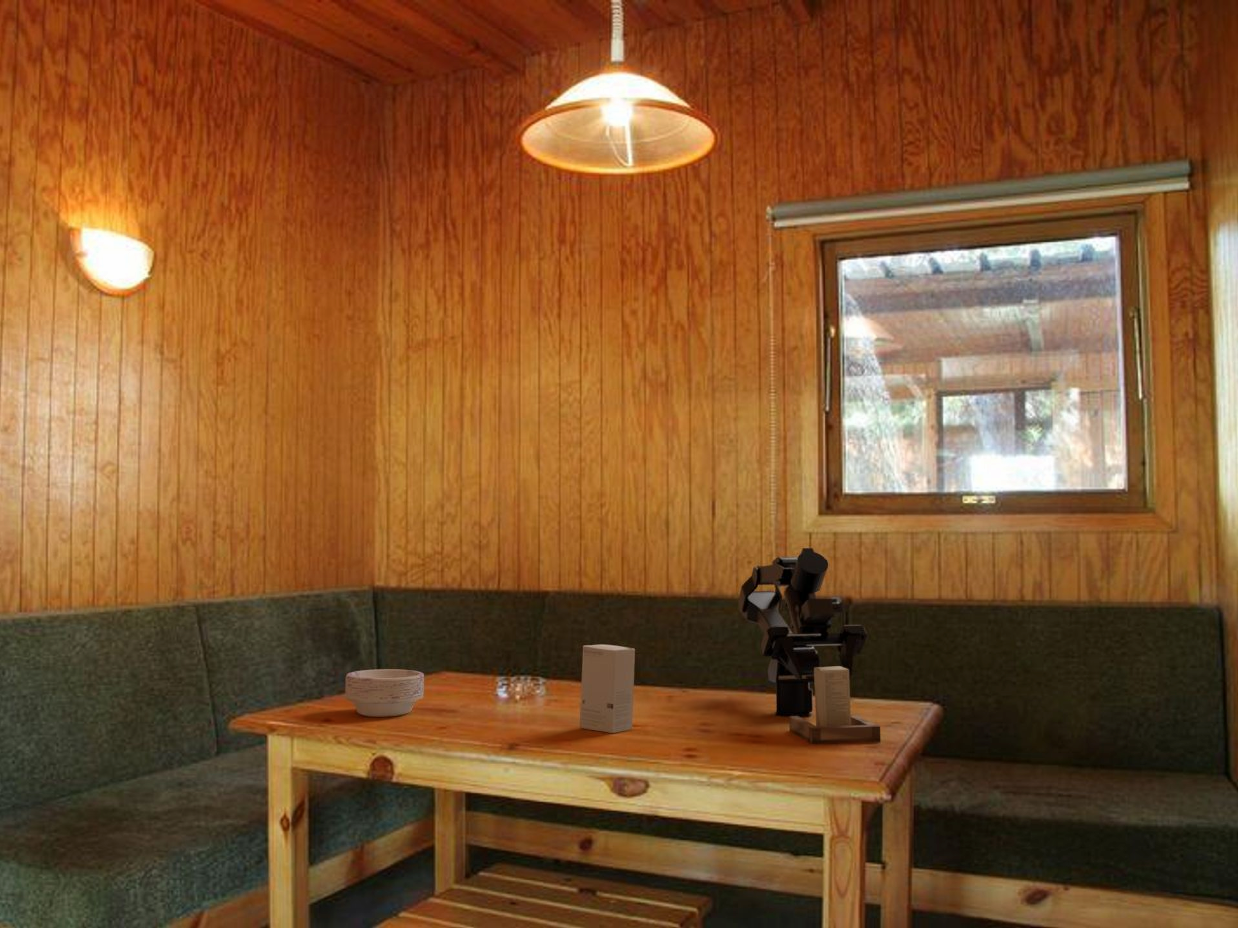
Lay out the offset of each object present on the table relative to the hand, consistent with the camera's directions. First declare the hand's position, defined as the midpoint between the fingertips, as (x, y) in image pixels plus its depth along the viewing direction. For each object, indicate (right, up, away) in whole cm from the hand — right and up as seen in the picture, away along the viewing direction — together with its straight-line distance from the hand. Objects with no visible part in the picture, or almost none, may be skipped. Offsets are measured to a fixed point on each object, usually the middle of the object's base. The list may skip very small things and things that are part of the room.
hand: (825, 677), depth 185 cm
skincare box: (-39, -10, +3) cm, 40 cm away
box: (0, -9, -4) cm, 10 cm away
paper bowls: (-83, -11, +21) cm, 86 cm away
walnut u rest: (+1, -9, -4) cm, 10 cm away
